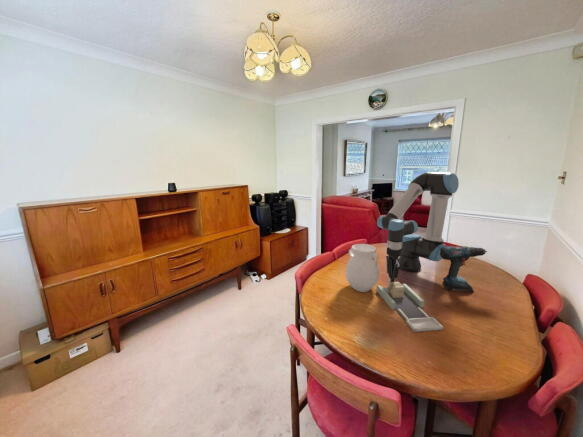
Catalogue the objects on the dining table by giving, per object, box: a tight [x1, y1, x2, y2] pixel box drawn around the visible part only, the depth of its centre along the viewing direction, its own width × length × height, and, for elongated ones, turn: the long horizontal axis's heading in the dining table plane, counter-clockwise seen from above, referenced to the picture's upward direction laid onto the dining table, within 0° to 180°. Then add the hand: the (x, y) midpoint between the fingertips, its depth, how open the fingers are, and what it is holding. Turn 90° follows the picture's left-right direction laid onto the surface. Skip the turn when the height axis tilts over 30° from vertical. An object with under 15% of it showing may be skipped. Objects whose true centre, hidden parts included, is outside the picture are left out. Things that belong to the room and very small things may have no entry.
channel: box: [376, 283, 425, 310], centre depth 132 cm, size 18×17×4 cm
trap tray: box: [405, 316, 444, 333], centre depth 111 cm, size 7×13×2 cm, turn 94°
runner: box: [382, 286, 431, 322], centre depth 129 cm, size 30×13×1 cm, turn 4°
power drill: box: [440, 245, 488, 293], centre depth 140 cm, size 9×23×25 cm, turn 78°
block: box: [387, 281, 404, 298], centre depth 135 cm, size 6×6×6 cm
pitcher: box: [345, 243, 380, 293], centre depth 142 cm, size 19×18×25 cm
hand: (390, 287), depth 140 cm, fingers closed
